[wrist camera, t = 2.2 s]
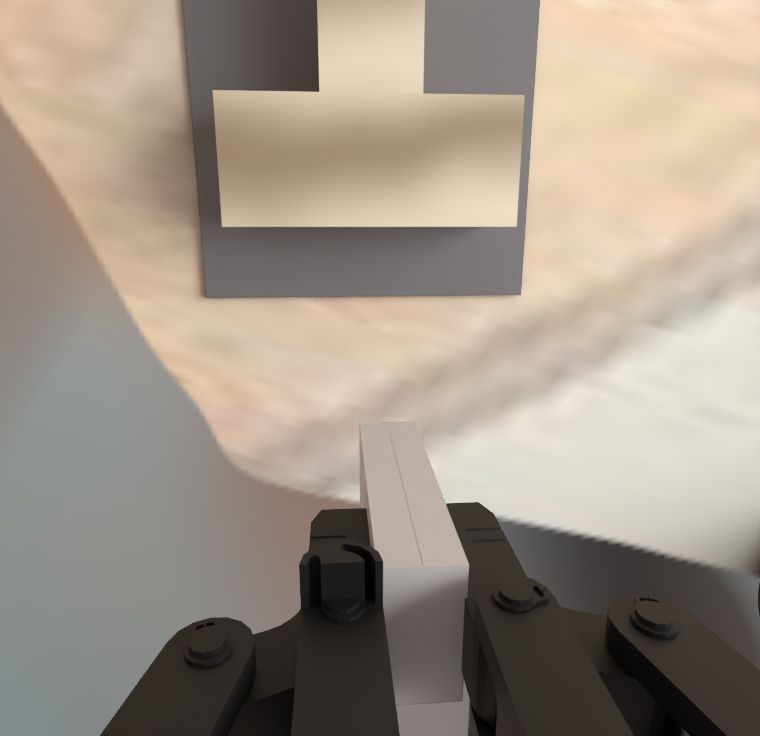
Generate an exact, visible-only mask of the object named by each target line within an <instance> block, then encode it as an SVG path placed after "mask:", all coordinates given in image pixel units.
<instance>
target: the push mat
mask: <svg viewBox="0 0 760 736" xmlns="http://www.w3.org/2000/svg"><path fill="white" fill-rule="evenodd" d="M539 7H540V0H425V29H424V83H423V93H425V94H487V95H525V98H524V115H523V131H522V147H521V164H520V180H519V197H518V213H517V227H222V219H221V205H220V190H219V176H218V161H217V147H216V132H215V117H214V103H213V90H240V91H302V92H319V59H318V18H317V0H183V10H184V23H185V36H186V49H187V61H188V74H189V87H190V100H191V112H192V125H193V138H194V151H195V163H196V176H197V189H198V202H199V214H200V227H201V240H202V253H203V266H204V278H205V291H206V298H233V297H346V296H458V295H521V285H522V270H523V255H524V239H525V224H526V208H527V193H528V177H529V162H530V146H531V131H532V115H533V100H534V84H535V69H536V54H537V38H538V23H539Z"/></svg>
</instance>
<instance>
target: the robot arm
mask: <svg viewBox="0 0 760 736" xmlns="http://www.w3.org/2000/svg"><path fill="white" fill-rule="evenodd" d="M359 427H360V508H359V509H334V510H321V511H320V513H319V514H318V515H317V516H316V517H315V519H314V520H313V521H312V522H311V533H310V546H309V551H308V552H307V553H306V554H304V555H303V557H302V560H301V562H300V565H299V570H300V595H301V609H300V611H299V612H298V613H297V614H296V615H295V616H294V617H293V618H291V619H290V620H289V621H287V622H285V623H284V624H282V625H280V626H278V627H275V628H273V629H270V630H267V631H264V632H261V633H257V634H254V635H253V634H252V631H251V629H250V628H248V627H247V626H246V625H245V624H244V623H242V622H241V621H238V620H234V619H231V618H227V617H226V618H209V619H205V620H201V621H198V622H194V623H192V624H190V625H189V626H187V627H185V628H183V629H181V630H180V631H178V632H177V633H176V634H175V635H174V636H173V637H172V638H171V639H170V640H169V641H168V642H167V643H166V645H165V646H164V648H163V649H162V650H161V651H160V653H159V654H158V656H157V657H156V658H155V660H154V661H153V663H152V664H151V665H150V667H149V668H148V670H147V671H146V672H145V674H144V675H143V677H142V678H141V679H140V681H139V682H138V683H137V685H136V686H135V688H134V689H133V690H132V692H131V693H130V695H129V696H128V698H127V699H126V700H125V702H124V703H123V705H122V706H121V707H120V709H119V710H118V711H117V713H116V714H115V716H114V717H113V718H112V720H111V721H110V723H109V724H108V725H107V727H106V728H105V729H104V731H103V732H102V734H101V735H100V736H400V735H399V727H398V720H397V711H396V705H411V704H426V703H441V702H457V701H462V699H463V679H464V680H465V684H466V687H467V691H468V694H469V698H470V703H469V704H470V705H469V722H468V736H684V732H685V731H686V732H687V733H688V734H689V735H690V736H760V670H759V669H757V668H756V667H755V666H754V665H752V664H751V663H750V662H749V661H747V660H746V659H745V658H744V657H742V656H741V655H740V654H738V653H737V652H736V651H735V650H733V649H732V648H731V647H730V646H729V645H727V644H726V643H725V642H724V641H722V640H721V639H720V638H718V637H717V636H716V635H715V634H713V633H712V632H711V631H710V630H708V629H707V628H706V627H705V626H704V625H702V624H701V623H700V622H699V621H697V620H696V619H695V618H694V617H692V616H691V615H690V614H688V613H687V612H686V611H684V610H682V609H681V608H679V607H678V606H676V605H674V604H673V603H671V602H668V601H666V600H663V599H660V598H658V597H655V596H650V595H643V594H629V595H623V596H620V597H618V598H616V599H614V600H613V601H612V603H611V604H610V606H609V608H608V614H607V616H601V615H595V614H590V613H584V612H578V611H575V610H570V609H566V608H564V607H561V606H560V605H559V604H558V602H557V600H556V598H555V597H554V595H553V594H552V593H551V592H550V591H549V590H548V589H547V587H545V586H544V585H542V584H540V583H539V582H537V581H535V580H534V579H531V578H527V576H526V574H525V572H524V570H523V568H522V566H521V565H520V563H519V561H518V559H517V557H516V555H515V553H514V551H513V550H512V548H511V546H510V544H509V542H508V541H507V538H506V536H505V535H504V533H503V531H502V530H501V527H500V525H499V523H498V521H497V519H496V517H495V516H494V514H493V513H492V512H491V511H489V510H488V509H487V508H485V507H484V506H483V505H481V504H480V503H478V502H475V503H448V504H446V503H445V501H444V498H443V495H442V493H441V490H440V488H439V485H438V482H437V480H436V477H435V475H434V472H433V469H432V467H431V464H430V462H429V459H428V456H427V454H426V451H425V449H424V446H423V443H422V441H421V438H420V435H419V433H418V430H417V428H416V425H415V422H380V423H359ZM758 607H759V614H760V584H759V593H758Z"/></svg>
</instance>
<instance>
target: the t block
mask: <svg viewBox="0 0 760 736" xmlns="http://www.w3.org/2000/svg"><path fill="white" fill-rule="evenodd" d="M317 18H318V59H319V92H302V91H240V90H213V103H214V117H215V132H216V147H217V161H218V176H219V190H220V205H221V219H222V227H517V213H518V197H519V180H520V164H521V147H522V131H523V115H524V98H525V95H487V94H425V93H423V83H424V29H425V0H317Z"/></svg>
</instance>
